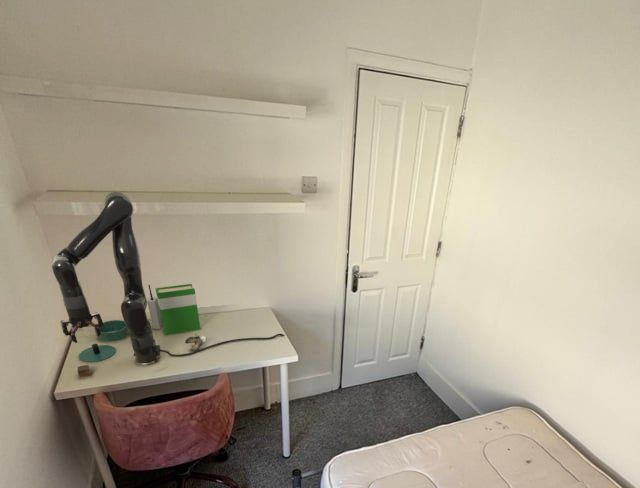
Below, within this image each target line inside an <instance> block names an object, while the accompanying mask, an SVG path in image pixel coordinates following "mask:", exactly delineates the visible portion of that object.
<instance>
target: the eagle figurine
mask: <svg viewBox="0 0 640 488" xmlns="http://www.w3.org/2000/svg"><path fill="white" fill-rule="evenodd" d="M206 340H207V337H206V336H205V335H201V336H200V335H197V333H195V336H189V337H187V338H186V339H185V342H184V344H186V345H188V344H189V345H190V344H192V347H191V348H190V349H189V350H190V352H194V351H197V350H199V349H201V347H202V346H203V343H205V342H206Z"/></svg>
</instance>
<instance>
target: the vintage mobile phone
mask: <svg viewBox="0 0 640 488" xmlns="http://www.w3.org/2000/svg"><path fill="white" fill-rule="evenodd" d="M148 289H149V295H150V297H149V298H148V300H147V307H148V312H149V316H150V321H151V326H152V330H161V329H163V324H162V319H161V314H160V309H159V304H158V300H157V296H153V293H152V290H151V285H150V284H148Z"/></svg>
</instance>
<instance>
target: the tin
mask: <svg viewBox="0 0 640 488" xmlns="http://www.w3.org/2000/svg"><path fill="white" fill-rule="evenodd" d="M102 322H103V324H104V326H101V327H100V328H99V329H100V332H101V335H100V336H99V337H98V336H97V338H98V340H99V341H101V342H105V343H106V342H107V343H108V342H109V343H110V342H117V341H121V340H124V339H126V338H128V337H129V336H130V335H129V331H128V328H127V327H126V325H125V322H124V320H121V319H114V320H113V319H112V320H108V321H102Z"/></svg>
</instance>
